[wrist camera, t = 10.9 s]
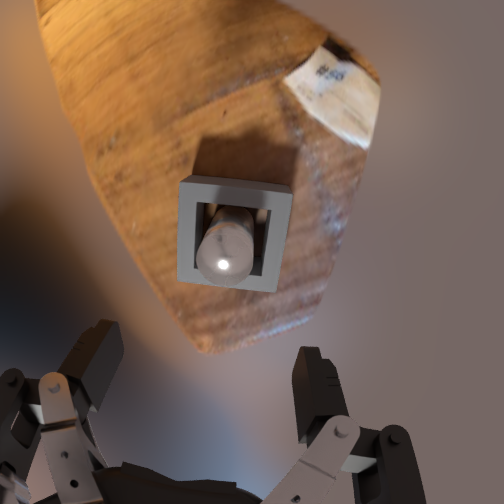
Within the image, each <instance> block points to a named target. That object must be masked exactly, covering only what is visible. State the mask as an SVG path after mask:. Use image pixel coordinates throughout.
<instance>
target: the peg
mask: <svg viewBox="0 0 504 504" xmlns="http://www.w3.org/2000/svg"><path fill="white" fill-rule="evenodd" d="M253 247H254V221H253V218H252V216H251V214H250V213H249V212H248V211H247V210H246V209H245V208H243V207H241V206H233V205H228V206H225V207H223V208H221V209H220V210H218V211H217V213H216V214H215V216H214V218H213V220H212V222H211V224H210V226H209V228H208V230H207V232H206V234H205V236H204V238H203V240H202V242H201V245H200V247H199V249H198V251H197V255H196V263H197V267H198V269H199V271H200V273H201V274H202V275H203V277H205V278H206V279H207V280H208V281H210V282H212V283H214V284H216V285H220V286H232V285H236V284H238V283H240V282H242V281H243V280H245V279H246V278H247V277H248V275H249V274H250V272H251V270H252V267H253Z"/></svg>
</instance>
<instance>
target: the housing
mask: <svg viewBox="0 0 504 504" xmlns="http://www.w3.org/2000/svg"><path fill="white" fill-rule="evenodd" d="M292 198H293V193H292V192H291V190H290V188H289V187H288V185H281V184H274V183H266V182H258V181H250V180H241V179H231V178H221V177H211V176H199V175H190V176H188V177H187V178H185V179H184V180H182V181H180V185H179V205H178V239H177V281H181V282H189V283H196V284H204V285H212V286H220V285H216V284H214V283H212V282H210V281H208V280H207V279H206V278H205V277H203V275H202V274H201V273H200V271H199V269H198V267H197V263H196V255H197V251H198V249H199V247H200V245H201V242H202V234H203V218H204V203H214V204H224V205H233V206H242V207H251V208H259V209H267V210H268V212H267V219H266V226H265V233H264V240H263V247H262V253H261V257H255V256H253V267H252V270H251V272H250V274H249V275H248V277H247V278H246V279H245V280H243V281H242V282H240V283H238V284H236V285H232V286H220V287H229V288H237V289H246V290H255V291H265V292H275V293H276V289H277V284H278V279H279V273H280V268H281V262H282V257H283V251H284V246H285V240H286V234H287V228H288V222H289V217H290V211H291V204H292Z"/></svg>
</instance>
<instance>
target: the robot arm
mask: <svg viewBox="0 0 504 504" xmlns="http://www.w3.org/2000/svg"><path fill="white" fill-rule="evenodd" d="M123 354H124V346H123V341H122V337H121V332H120V327H119V324H118V322H116V321H111V320H107V319H101V320H100V321H99V322H98V324H97V325H96V327H95V328H93V327H90V328H89V329H87V330H86V331H85V332H83V333H82V334H81V336H80V337H79V339H78V340H77V343H75V345H74V346H73V349H71V351H70V352H69V354H68V355H67V357H66V359H65V360H64V362H63V363H62V365H61V366H60V368H59V369H58V371H57V372H53V373H48V374H46V375H45V376H44V377H42V379H29V378H25V376H24V375H23V373H22V372H21V371H20V370H19V369H16V368H12V369H8V370H6V371H5V372H4V373H3V374H2V376H1V377H0V504H29V500H30V499H31V494H30V492H29V489H28V486H27V484H26V479H27V476H28V473H29V470H30V467H31V464H32V460H33V458H34V455H35V452H36V449H37V447H38V444H39V442H40V439H41V437H42V441H43V446H44V450H45V454H46V458H47V462H48V465H49V469H50V472H51V475H52V479H53V482H54V485H55V488H56V490H57V493H55V494H53V495H51V496H49V497H47V498H45V499H43V500H40V501H38V502H36V503H34V504H320V503H321V502H322V500H323V499H324V497H325V496H326V495H327V493H328V492H329V490H330V489H331V487H332V486H333V484H334V482H335V480H336V478H335V477H336V475H337V473H338V472H339V470H341V471H347V472H352V479H353V488H354V498H355V504H426V499H425V494H424V490H423V485H422V481H421V477H420V473H419V469H418V465H417V461H416V457H415V453H414V450H413V446H412V443H411V439H410V436H409V434H408V432H407V431H406V430H405V429H404V428H403V427H401V426H398V425H389V426H386V427H385V428H384V429H382V431H378V430H372V429H366V428H362V427H360V426H359V425H358V424H357V422H355V420H353V419H352V418H350V417H349V414H348V410H347V407H346V403H345V399H344V395H343V392H342V388H341V387H340V385H341V384H340V381H339V379H338V373H337V370H336V367H335V366H334V365H333V363H332V362H331V361H330V360H329V359H322V357H321V353H320V350H319V348H318V347H306V346H302V347H300V349H299V353H298V356H297V359H296V362H295V365H294V368H293V372H292V387H293V396H294V405H295V413H296V422H297V430H298V431H297V432H298V441H299V443H307V450H306V452H305V453H304V454H303V455H302V457H301V458H300V459H299V460H298V461H297V463H296V464H295V465H294V466H293V467H292V469H291V470H290V471H289V472H288V473H287V475H286V476H285V477H284V478H283V479H282V480H281V482H280V483H279V484H278V485H277V486H276V487H275V488H274V489H273V491H272V492H271V493H270V494H269V495H268V496H267V497H266V498H265V499H264V500H262V499H260V498H259V497H257V496H256V495H254V494H252V493H250V492H248V491H246V490H243V489H240V488H237V487H236V482H226V481H216V480H194V481H175V480H172V479H170V478H168V477H166V476H163V475H161V474H159V473H157V472H155V471H153V470H150V469H148V468H144V467H141V466H137V465H133V464H130V463H127V462H123V463H122V466H121V467H108V465H107V463H106V461H105V460H104V458H103V456H102V455H101V452H100V450H99V448H98V445H97V443H96V440H95V437H94V434H93V432H92V429H91V426H90V423H89V420H88V417H87V414H88V411H89V410H92V411H94V412H98V411H99V408H100V406H101V403H102V401H103V399H104V397H105V394H106V392H107V390H108V388H109V386H110V383H111V381H112V379H113V377H114V375H115V373H116V371H117V368H118V366H119V364H120V362H121V360H122V358H123ZM18 411H19V415H18V417H17V419H16V421H15V423H14V425H13V427H12V430H11V425H12V423H13V421H14V419H15V417H16V414H17V413H18Z"/></svg>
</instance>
